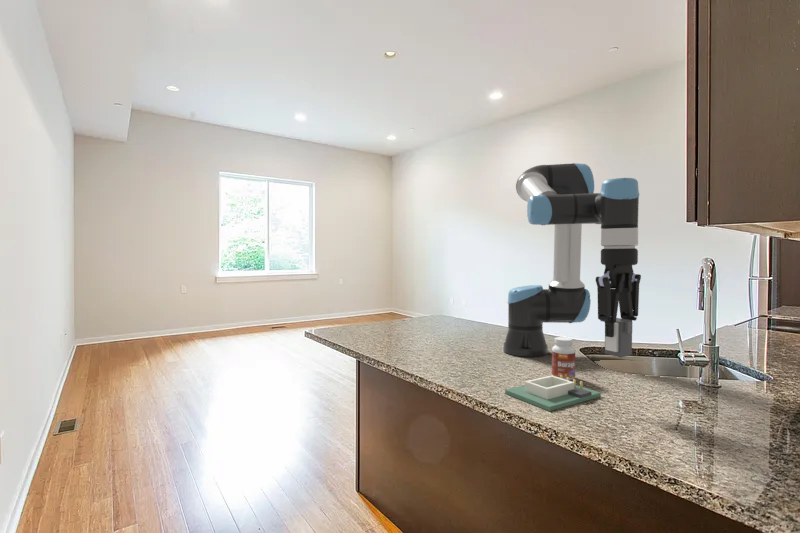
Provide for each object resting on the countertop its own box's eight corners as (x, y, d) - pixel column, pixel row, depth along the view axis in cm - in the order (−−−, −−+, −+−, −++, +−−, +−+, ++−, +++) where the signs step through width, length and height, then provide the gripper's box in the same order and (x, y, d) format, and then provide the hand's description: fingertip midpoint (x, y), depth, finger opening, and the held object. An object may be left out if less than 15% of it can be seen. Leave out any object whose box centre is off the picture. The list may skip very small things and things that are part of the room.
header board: (554, 381, 117) (554, 369, 117) (600, 396, 105) (600, 382, 105) (505, 393, 108) (505, 379, 108) (549, 411, 96) (549, 395, 96)
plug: (615, 351, 101) (615, 317, 101) (635, 355, 97) (635, 320, 97) (604, 353, 99) (605, 319, 99) (624, 358, 95) (624, 322, 95)
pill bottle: (557, 381, 118) (556, 341, 117) (548, 374, 124) (548, 336, 123) (579, 380, 118) (579, 340, 117) (569, 374, 124) (569, 336, 124)
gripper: (626, 246, 105) (625, 341, 106) (580, 248, 96) (579, 351, 97) (657, 246, 98) (655, 347, 99) (610, 248, 90) (609, 358, 91)
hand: (618, 349), depth 98 cm, fingers closed on plug, 4 cm apart
